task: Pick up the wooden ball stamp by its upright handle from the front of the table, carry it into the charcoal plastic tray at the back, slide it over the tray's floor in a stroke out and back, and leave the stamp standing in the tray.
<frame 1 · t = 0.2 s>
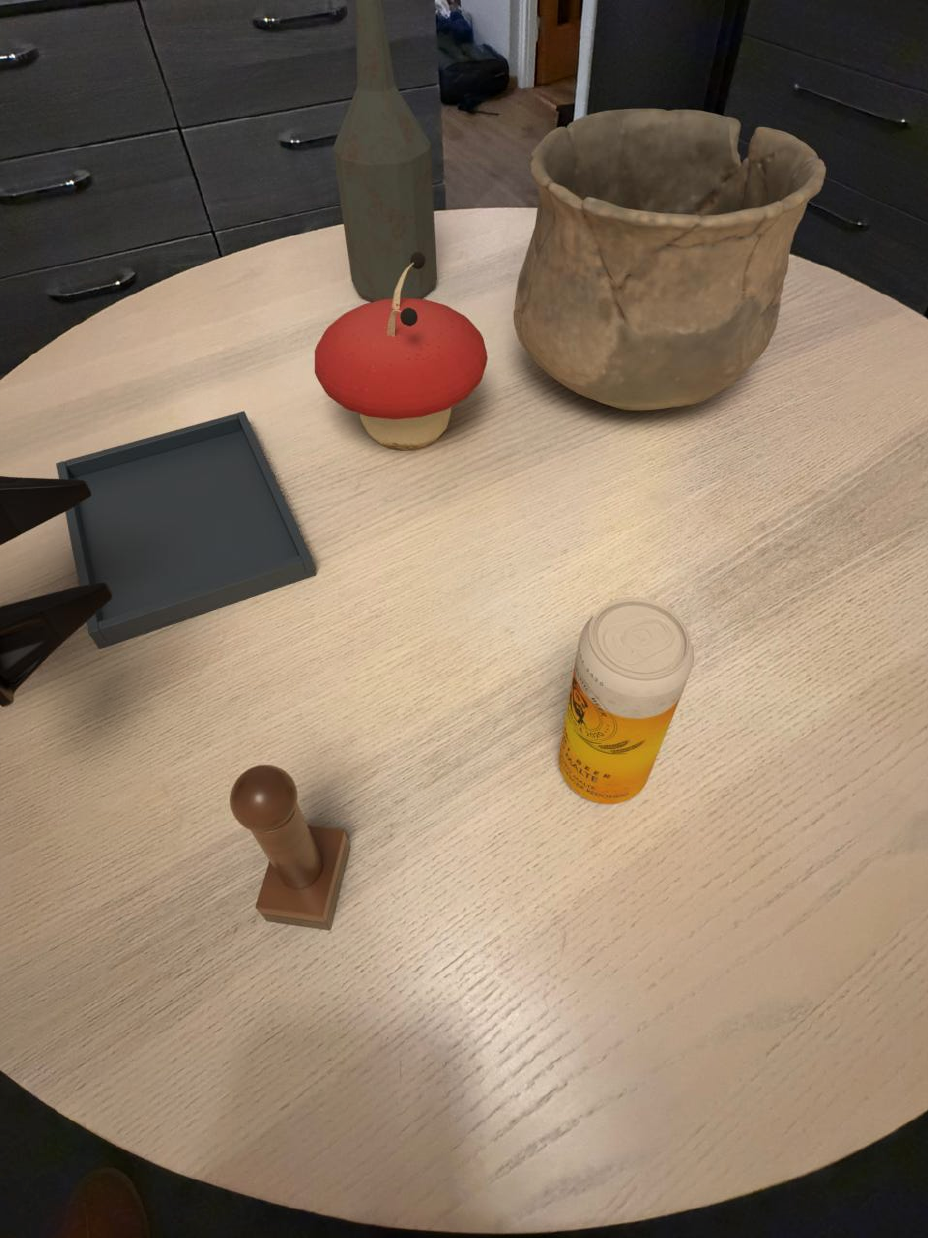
hand: (98, 535, 44), 15 cm above the table, tool horizontal, fingers open, 9 cm apart
mushroom: (407, 428, 74), on the table
beer can: (601, 768, 51), on the table
wooden ball stamp: (309, 883, 46), on the table
tray: (183, 524, 66), on the table
bottle: (395, 287, 91), on the table
pot: (629, 381, 78), on the table
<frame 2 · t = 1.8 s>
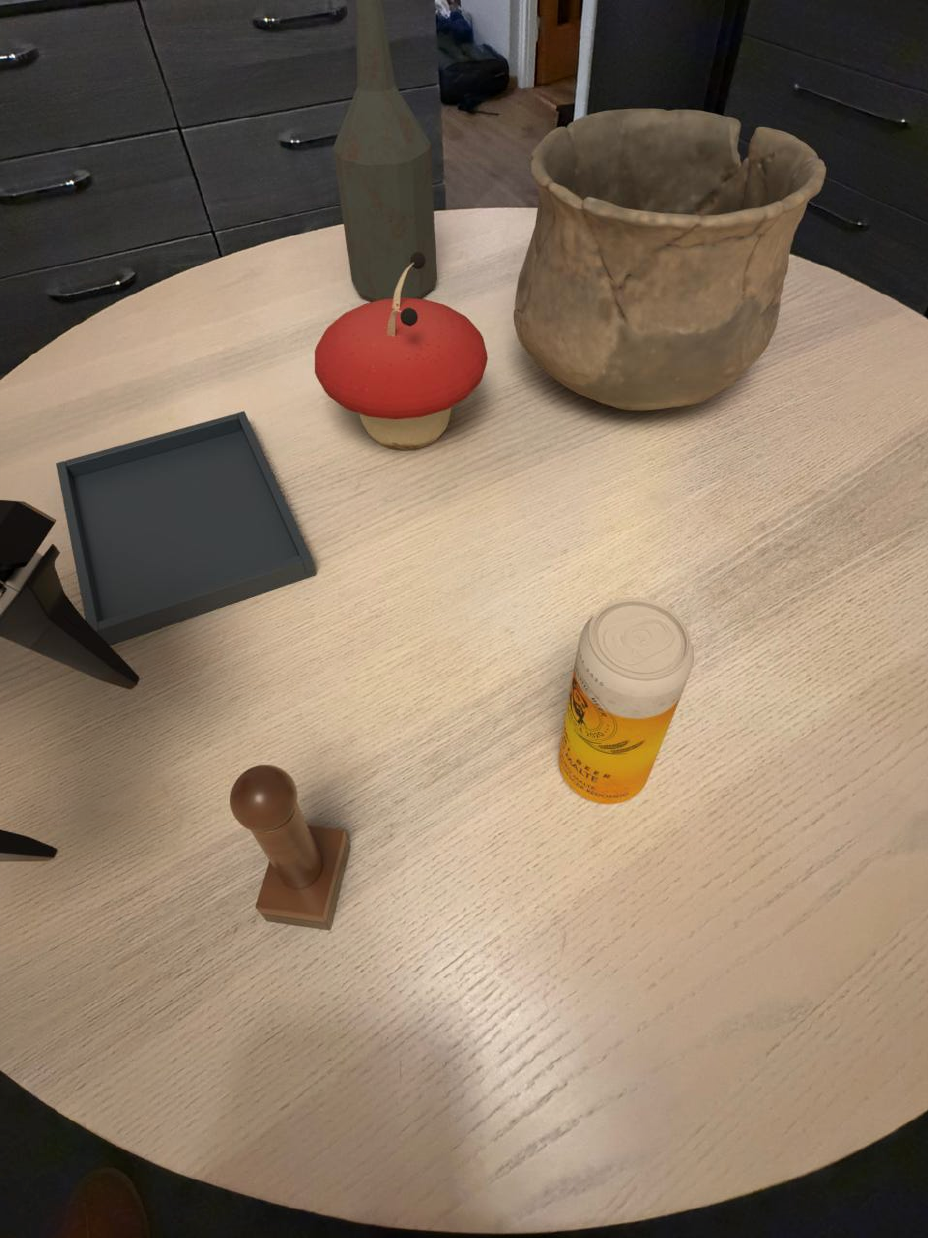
hand: (98, 763, 36), 14 cm above the table, tool tilted 45°, fingers open, 9 cm apart
nothing on the table moved.
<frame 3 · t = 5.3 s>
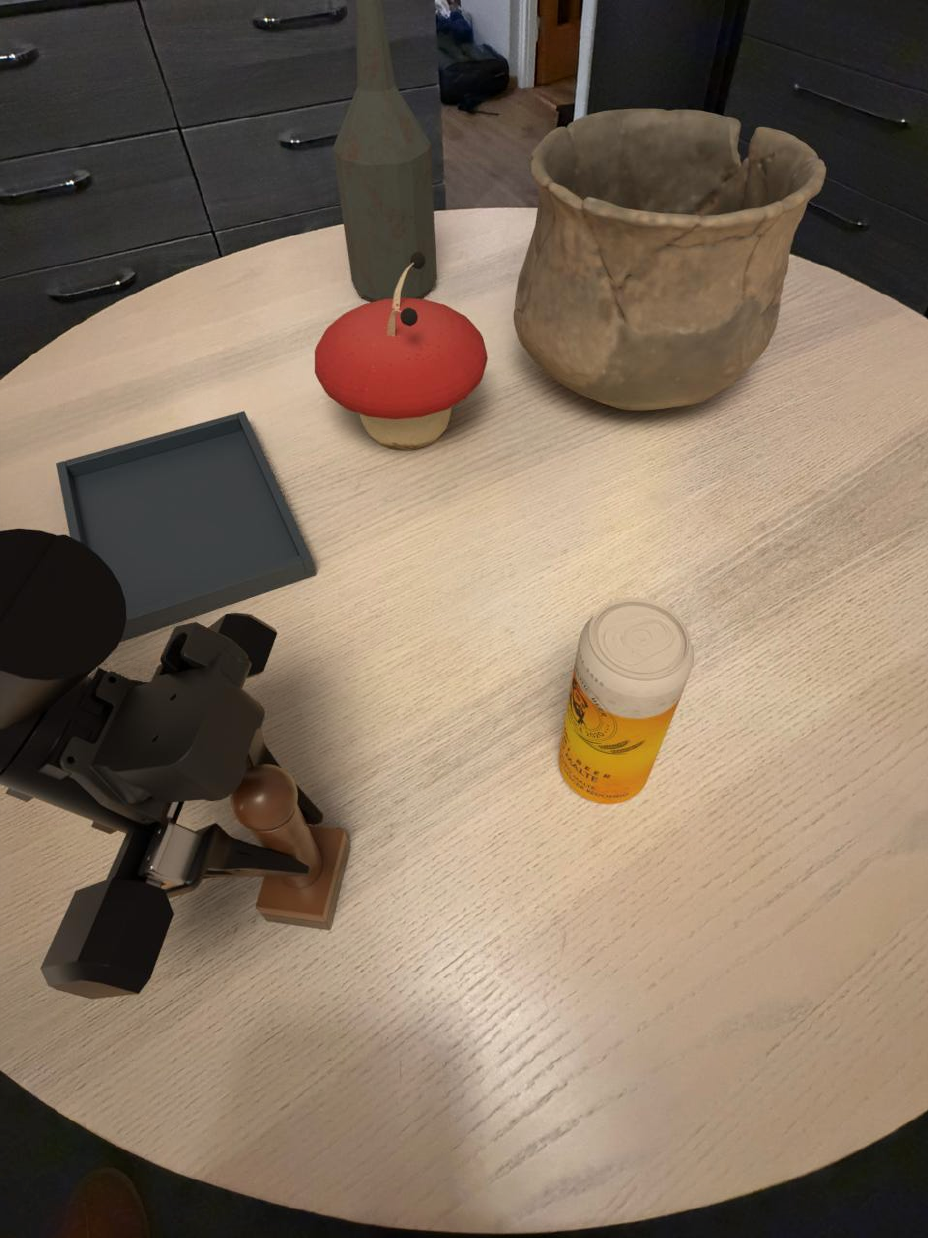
hand: (312, 846, 41), 7 cm above the table, tool tilted 45°, fingers closed on wooden ball stamp, 2 cm apart
wooden ball stamp: (309, 883, 46), on the table, touching gripper
everything else where it was.
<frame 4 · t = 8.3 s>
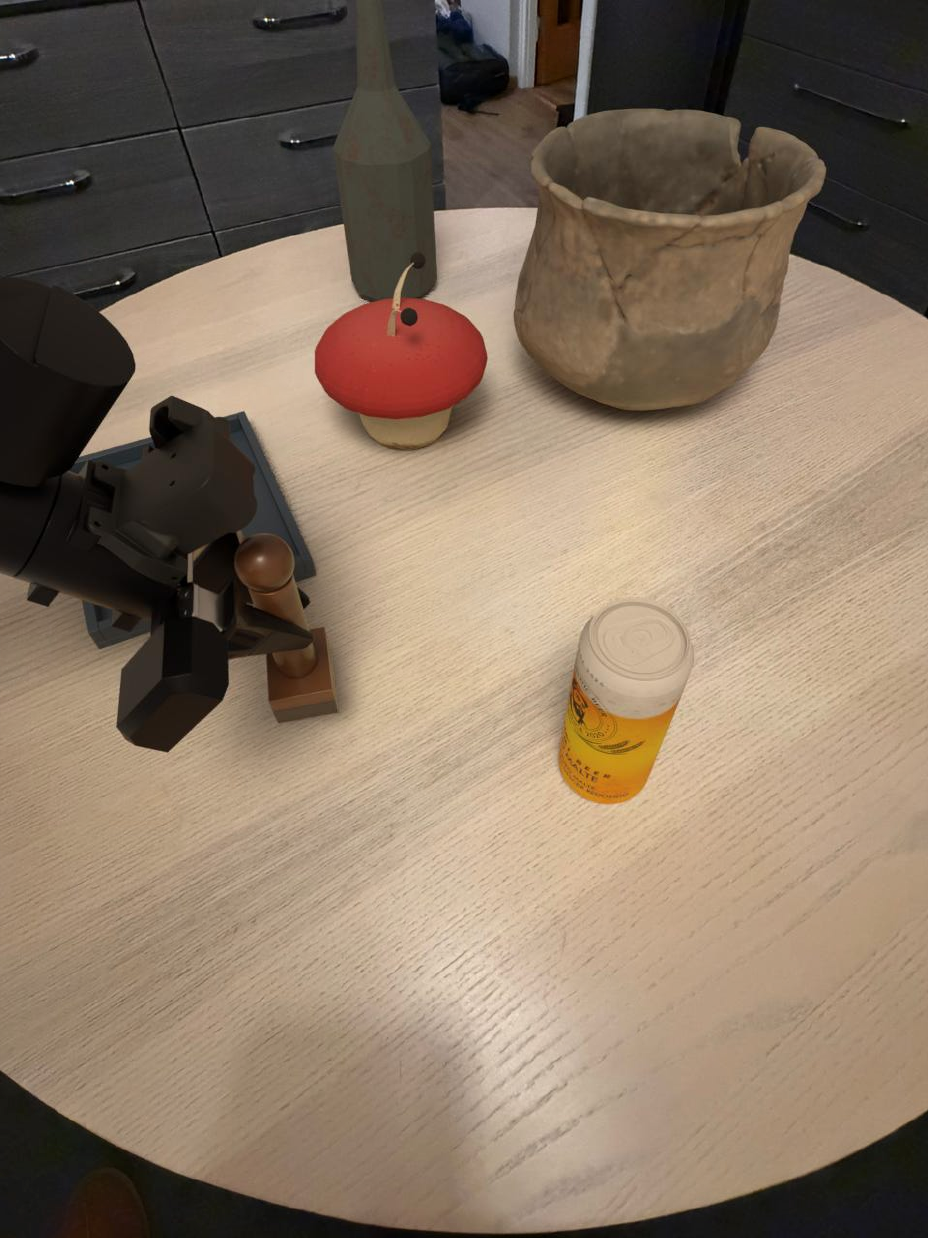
hand: (308, 623, 45), 10 cm above the table, tool tilted 45°, fingers closed on wooden ball stamp, 2 cm apart
wooden ball stamp: (305, 686, 51), point 4 cm above the table, touching gripper
everything else where it was.
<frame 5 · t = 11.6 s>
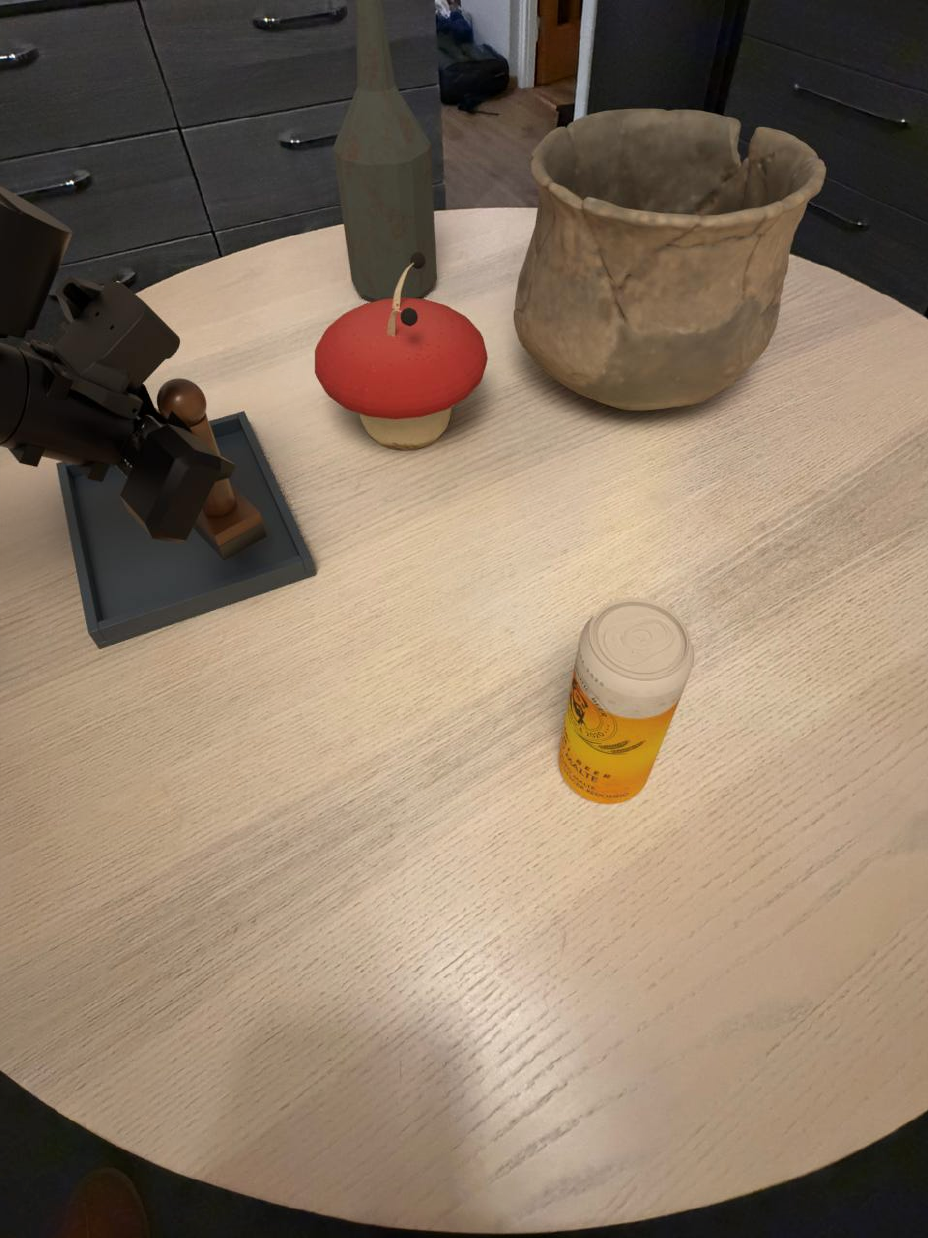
hand: (222, 461, 56), 10 cm above the table, tool tilted 45°, fingers closed on wooden ball stamp, 2 cm apart
wooden ball stamp: (229, 531, 61), point 3 cm above the table, touching gripper
everything else where it was.
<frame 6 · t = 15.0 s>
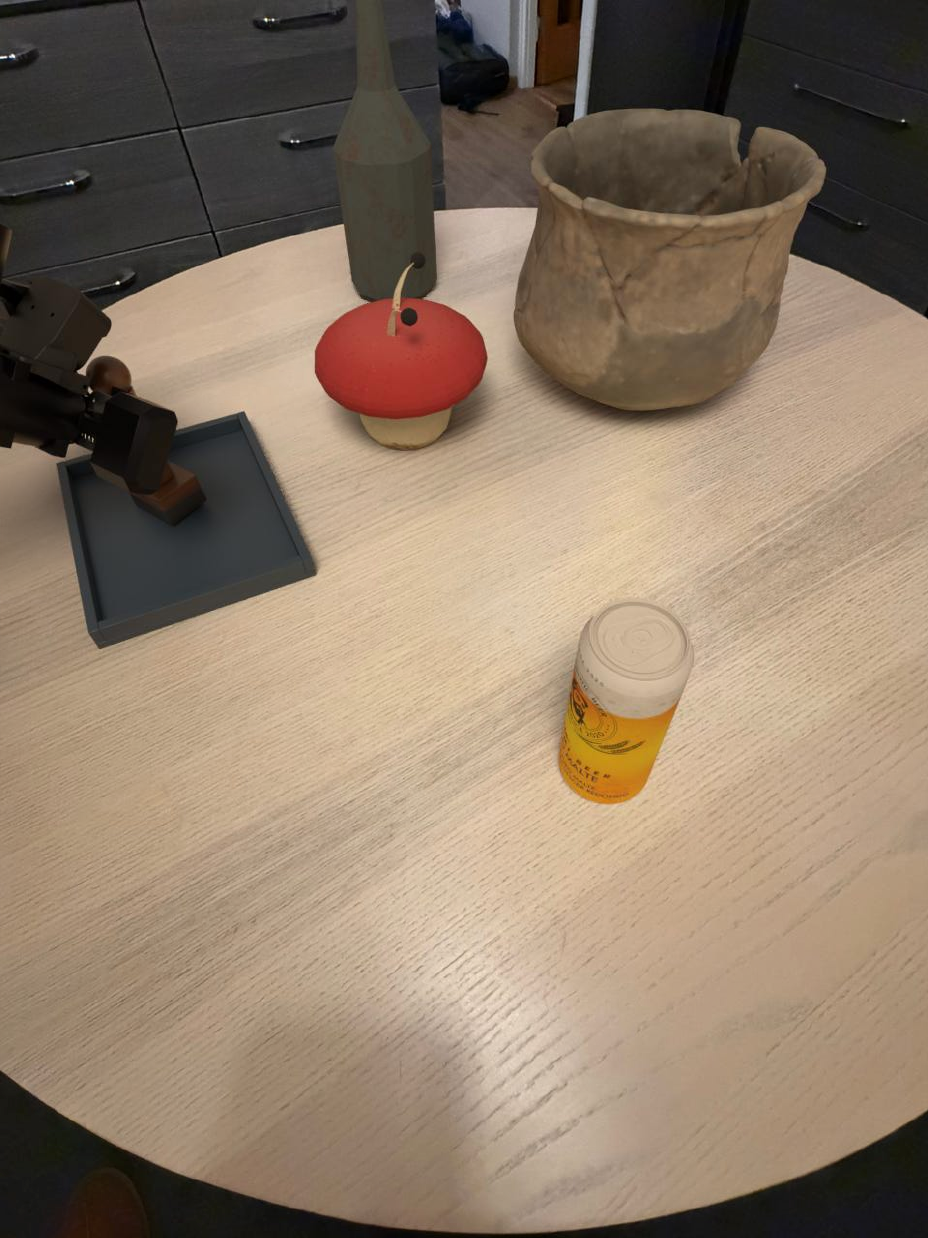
hand: (154, 433, 62), 7 cm above the table, tool tilted 45°, fingers closed on wooden ball stamp, 3 cm apart
wooden ball stamp: (171, 502, 66), point 1 cm above the table, tilted 6°, touching gripper
everything else where it was.
when the fingers open (7 cm above the table, at t = 18.2 s): wooden ball stamp stays where it is, resting on tray.
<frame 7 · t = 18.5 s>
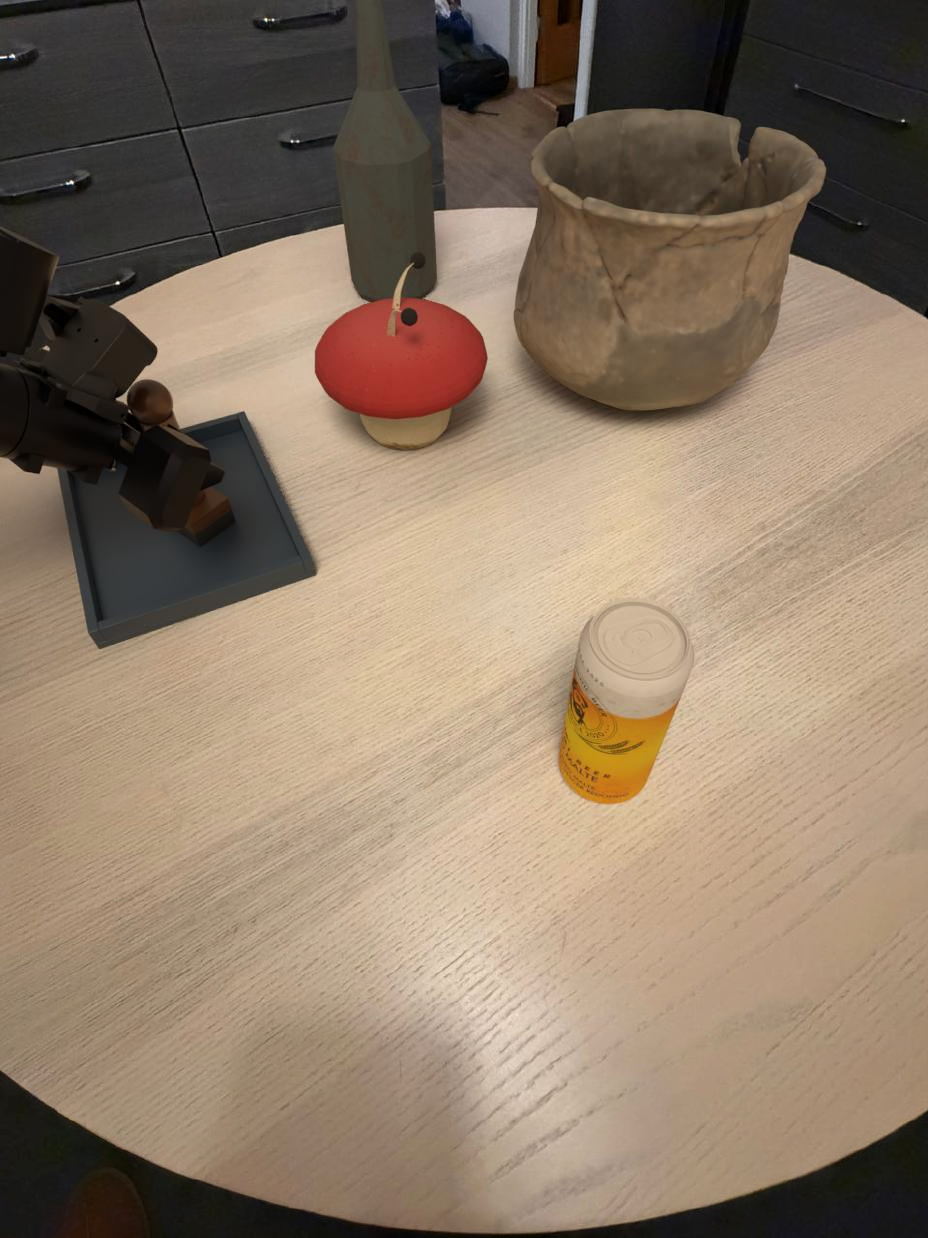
hand: (197, 459, 60), 7 cm above the table, tool tilted 45°, fingers open, 6 cm apart
wooden ball stamp: (199, 521, 65), point 1 cm above the table, touching tray
everything else where it was.
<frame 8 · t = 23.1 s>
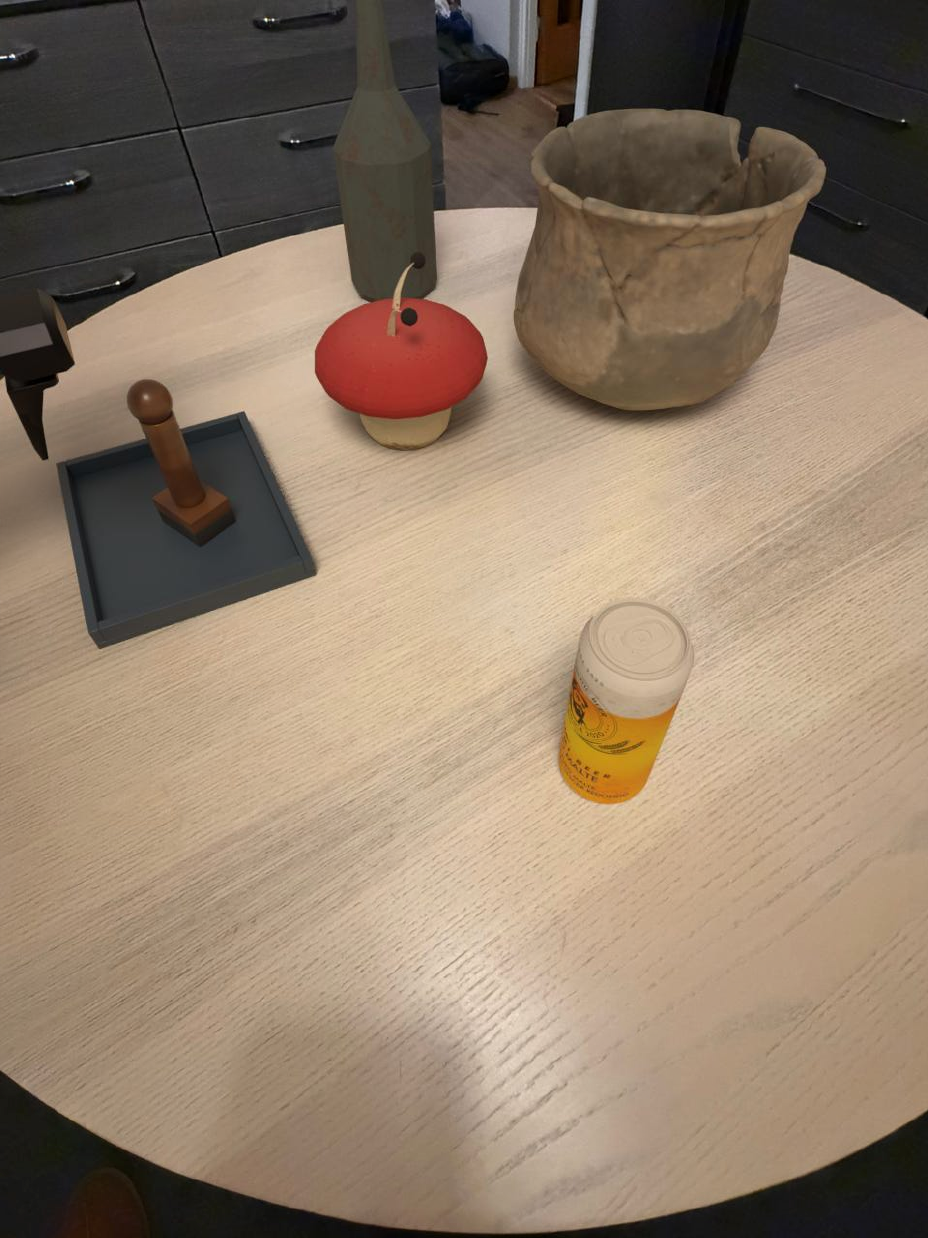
nothing on the table moved.
at the end: wooden ball stamp inside the target area in the tray (1.7 cm from its centre), point 0.6 cm above the tray's base; wooden ball stamp moved 34.2 cm from its start; wooden ball stamp tilted 0° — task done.
